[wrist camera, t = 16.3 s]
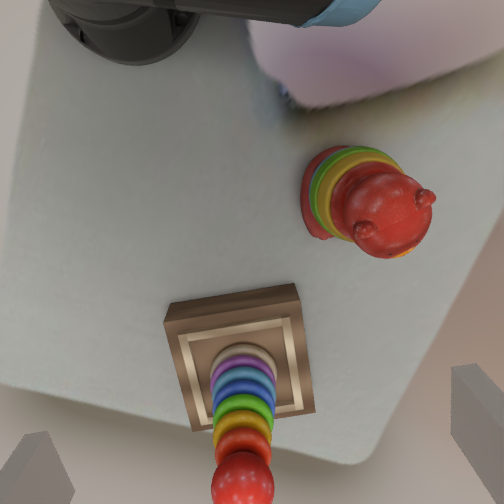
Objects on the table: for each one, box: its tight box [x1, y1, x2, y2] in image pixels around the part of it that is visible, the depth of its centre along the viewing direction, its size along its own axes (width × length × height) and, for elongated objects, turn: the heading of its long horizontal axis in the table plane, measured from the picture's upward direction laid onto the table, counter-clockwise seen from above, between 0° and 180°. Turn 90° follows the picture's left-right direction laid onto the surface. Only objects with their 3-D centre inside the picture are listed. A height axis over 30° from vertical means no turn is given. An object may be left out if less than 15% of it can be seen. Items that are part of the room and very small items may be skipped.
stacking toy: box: [210, 344, 277, 504], centre depth 37 cm, size 8×8×19 cm
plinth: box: [163, 283, 316, 432], centre depth 48 cm, size 16×16×6 cm
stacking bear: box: [300, 146, 436, 259], centre depth 36 cm, size 11×10×18 cm
